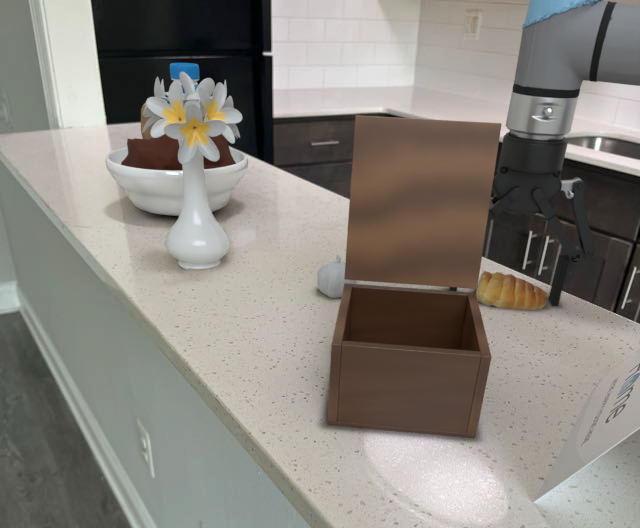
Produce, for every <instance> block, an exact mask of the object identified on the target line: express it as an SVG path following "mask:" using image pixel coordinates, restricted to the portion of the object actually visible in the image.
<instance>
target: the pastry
mask: <svg viewBox="0 0 640 528" xmlns="http://www.w3.org/2000/svg"><path fill="white" fill-rule="evenodd" d="M475 293H476V296H477V300H478V303H479V304H482V305H485V306H487V307H488V306H489V307H490V306H494V307H495V308H499V309H512V310H526V311H527V310H529V311H532V310H533V311H535V310H541V309H544V307H545V306H546V302H547V297H548V293H547V292H546V291H545V290H544V289H542V288H541V287H540V286H537V285H534V284H533V283H532V282H529V281H527V280H525V279H522V278H520V277H516V276H515V275H513V274H511V273H510V274H504V273H502V272H500V271H497V272H494V273H491V272H490V271H487V270H484V271H483V272H482V273H481V274H480V276H479V280H478V286H477V289H476V292H475Z"/></svg>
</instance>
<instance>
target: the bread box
mask: <svg viewBox="0 0 640 528" xmlns="http://www.w3.org/2000/svg"><path fill="white" fill-rule="evenodd" d="M330 345H331V347H330V365H329V387H328V407H327V423H326V425H327V426H333V427H344V428H354V429H355V428H356V429H366V430H376V431H377V430H378V431H389V432H399V433H400V432H401V433H410V434H411V433H412V434H423V435H433V436H434V435H435V436H445V437H455V438H456V437H457V438H467V439H476V437H477V433H478V428H479V422H480V417H481V413H482V408H483V403H484V397H485V392H486V387H487V382H488V377H489V372H490V367H491V362H492V354H491V353H492V352H491V348H490V345H489V341H488V337H487V333H486V329H485V325H484V320H483V316H482V313H481V309H480V303H479V302H478V300H477V296H476V292H469V291H468V292H467V291H449V290H446V289H445V290H443V289H431V288H429V289H428V288H417V287H416V288H414V287H402V286H389V285H386V286H385V285H375V284H362V283H361V284H360V283H356V284H347V283H345V284H344V287H343V292H342V297H340V302H339V307H338V312H337V316H336V321H335V326H334V331H333V334H332V340H331V344H330Z"/></svg>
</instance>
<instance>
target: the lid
mask: <svg viewBox="0 0 640 528" xmlns="http://www.w3.org/2000/svg"><path fill="white" fill-rule="evenodd" d="M501 130H502V123H501V122H488V121H487V122H486V121H467V120H452V119H451V120H449V119H431V118H415V117H414V118H411V117H394V116H393V117H392V116H376V115H359V114H358V115H357V114H356V115H355V117H354V131H353V145H352V160H351V176H350V188H349V189H350V191H349V204H348V205H349V207H348V218H347V235H346V250H345V262H344V263H345V277H344V279H345V280H356V281H359V282H360V281H361V282H373V283H374V282H375V283H386V284H387V283H388V284H402V285H414V286H415V285H416V286H428V287H429V286H430V287H441V288H442V287H443V288H449V287H455V288H457V289H470V290H477V288H478V285H479V281H480V272H481V266H482V258H483V253H484V245H485V240H486V239H485V238H486V233H487V225H488V223H487V219H488V212H489V206H490V200H491V199H492V191H493V188H492V185H493V179H494V174H495V173H496V163H497V158H498V151H499V144H500V138H501Z"/></svg>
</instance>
